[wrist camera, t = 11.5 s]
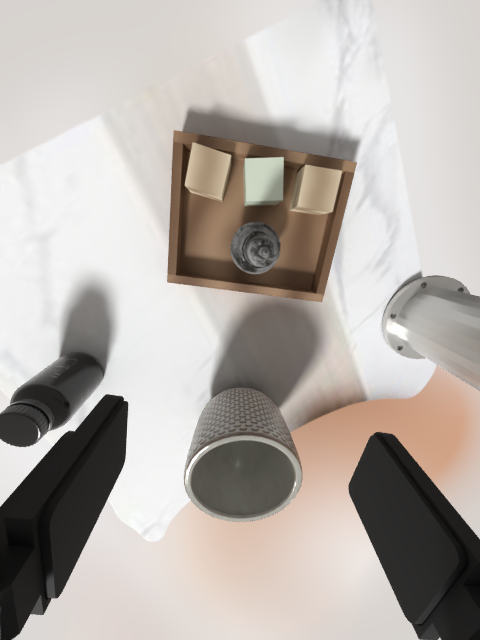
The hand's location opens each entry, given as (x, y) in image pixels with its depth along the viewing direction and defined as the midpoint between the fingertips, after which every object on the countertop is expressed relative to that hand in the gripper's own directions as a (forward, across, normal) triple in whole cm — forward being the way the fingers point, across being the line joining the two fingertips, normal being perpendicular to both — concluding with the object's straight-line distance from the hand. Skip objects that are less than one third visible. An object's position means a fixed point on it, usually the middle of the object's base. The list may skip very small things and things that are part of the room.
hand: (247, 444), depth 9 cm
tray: (+26, 0, -9) cm, 28 cm away
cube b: (+26, 0, -14) cm, 29 cm away
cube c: (+26, +6, -13) cm, 29 cm away
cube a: (+26, -6, -14) cm, 30 cm away
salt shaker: (+26, -1, -7) cm, 27 cm away
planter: (+26, -4, +19) cm, 33 cm away
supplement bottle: (+26, +21, +16) cm, 37 cm away
